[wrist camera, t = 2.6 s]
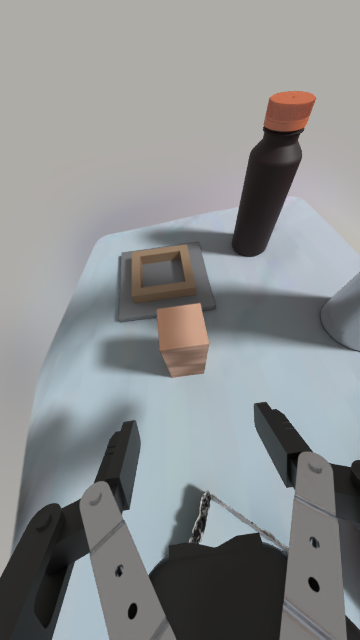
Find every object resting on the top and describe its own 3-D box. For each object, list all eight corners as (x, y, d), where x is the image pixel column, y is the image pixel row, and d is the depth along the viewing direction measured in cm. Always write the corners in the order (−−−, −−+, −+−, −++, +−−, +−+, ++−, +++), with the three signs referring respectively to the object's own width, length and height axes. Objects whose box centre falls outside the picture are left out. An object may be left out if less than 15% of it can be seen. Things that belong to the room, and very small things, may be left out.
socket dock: (198, 245, 39) (198, 233, 37) (214, 309, 31) (216, 298, 29) (123, 256, 39) (118, 244, 37) (120, 322, 32) (113, 313, 29)
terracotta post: (198, 343, 29) (200, 303, 19) (203, 373, 26) (209, 343, 17) (169, 347, 29) (156, 309, 19) (172, 377, 26) (159, 350, 17)
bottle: (245, 262, 36) (292, 111, 19) (224, 242, 39) (248, 98, 22) (273, 248, 38) (340, 96, 20) (250, 230, 41) (292, 85, 23)
